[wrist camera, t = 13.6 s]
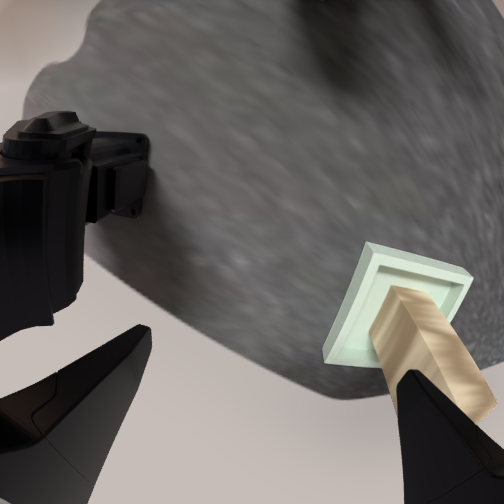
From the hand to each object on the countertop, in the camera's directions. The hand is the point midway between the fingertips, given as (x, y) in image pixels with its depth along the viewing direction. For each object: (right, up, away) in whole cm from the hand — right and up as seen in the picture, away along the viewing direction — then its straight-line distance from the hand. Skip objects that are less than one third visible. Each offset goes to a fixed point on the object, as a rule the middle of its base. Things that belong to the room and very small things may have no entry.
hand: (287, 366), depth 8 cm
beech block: (+12, -2, +14) cm, 18 cm away
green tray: (+12, -2, +14) cm, 18 cm away
